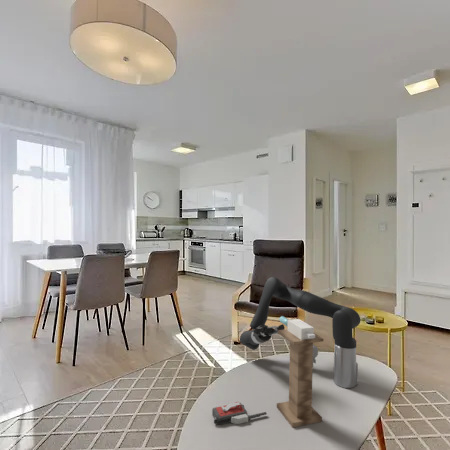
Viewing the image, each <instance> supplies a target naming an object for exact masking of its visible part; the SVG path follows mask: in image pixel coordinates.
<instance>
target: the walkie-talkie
mask: <svg viewBox="0 0 450 450" xmlns="http://www.w3.org/2000/svg"><path fill="white" fill-rule="evenodd" d="M247 412H248V411H247V409H246V408H245V406H244V404H242V403H241V402H239V401H236V402H230V403H228V404H226V405H221V406H216V407H213V408H212V418H213V423H214V424H215V425H224V424H227V423H232V424H235V425H239V424H244V423H249V420H251V419H254V418H255V419H256V418H258V417H261V416H265V415H267V411H265V412H259V413H256V414H255V413H254V414H251V415H250V414H249V415H248V414H247Z"/></svg>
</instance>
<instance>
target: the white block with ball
mask: <svg viewBox="0 0 450 450" xmlns="http://www.w3.org/2000/svg"><path fill="white" fill-rule="evenodd" d="M279 322H280V323H282V324H283V325H284V326H286V327H287V330H288V331H289V332H291V333H292V334H293V335H295V336H296V337H298V338H299V339H301V340H305V339H313V338H315V335H314V333H315V329H314V326H312V325H310V324H308V323H307V322H305V321H303V320H301V319H300V318H296V319H294V318H293V319H289V318H287V317H285V316H284V315H281V316H280V317H279Z"/></svg>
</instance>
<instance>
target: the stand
mask: <svg viewBox="0 0 450 450" xmlns="http://www.w3.org/2000/svg"><path fill="white" fill-rule="evenodd" d="M278 333H279V334H278V335H280V336H282V337H283V338H284V339H286V341H288V342H289V369H288V371H289V373H288V377H289V378H288V379H289V380H288V381H289V383H288V387H289V388H288V401H283V402H277V403H276V408H277V410H278V411H279V412H280V413H281V414H282V416H283V417H284V418H285V420H286V421H287V422H288V424H289V425H290V426H291V427H292V428H297V427H301V426H306V425H311V424H316V423H320V422H322V421H323V417H322V416H321V414H320V413H319V412H318V411H316V409H314V407H313V368H312V366H313V367H314V362H313V345H314V343H321V342H324V338H323V337H322V336H320V335H318V334H316V333H315V332H314V335H315V338H313V339H305V340H301V339H299V338H298V337H296V336H295V335H293V334H292V333H291V332H289V331H288V330H287V329H286V328H285V329H284V330H278Z"/></svg>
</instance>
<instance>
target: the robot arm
mask: <svg viewBox="0 0 450 450" xmlns="http://www.w3.org/2000/svg"><path fill="white" fill-rule="evenodd" d="M261 293H262V294H261V296H260V299H259V303H258V306H257V309H256V311H255V313H254V314H253V318H252V319H251V322H250V324H249V327H250V328H251V329H252V330H245V331H243V332H242V333H241V334H240V336H239V342H240V343H241V344H242V345H243V346H244V347H247V348H248V349H250V350H252V351H255V350H258V348H259V346H260V344H264V343H266V342H269V341H270V340H271V338H272V337H273V335H276V334H277V335H280V334H279V333H278V330H285V329H286V328H285V325H284V324H283V323H282V324H279V325H272V326H268V325H267V324H266V323H267V321H268V317H269V309H270V304H271V300H272V298H273V297H274V298H278V299H281V300H283V301H285V302H286V301H287V302H288V303H291V304H292V305H294V306H296V307H297V308H299V309H301V310H303V311H305V312H307V313H309V314H314V315H319V316H324V317H328V318H331V319H332V320H331V321H332V323H331V324H332V338H333V340H334V343H333V344H334V345H333V346H334V348H333V350H334V351H333V352H334V353H333V382H334V383H335V385H337V386H339V387H341V388H345V389H353V388H355V387H356V386H357V385H358V384H359V382H358V378H359V377H358V376H359V374H358V373H359V372H358V371H359V363H358V362H357V340H356V338H355V337H353V329H355V328H357V327H358V326H359V325H360V323H361V321H362V320H361V316H360V314H359V313H358V312H357V311H356V310H355V309H354V308H352V307H348V306H345V305H341V304H338V303H335V302H332V301H330V300H328V299H325V298H323V297H321V296H318V295H316V294H313V293H312V292H309V291H307V290H303V289H295V288H293V287H290V286H289V285H287V284H285V283H284V282H283V281H282V280H280V279H279V278H277V277H275V276H271V277H269V278H268V279H267V280H266V282H265V283H264V286H263V291H262V292H261Z"/></svg>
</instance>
